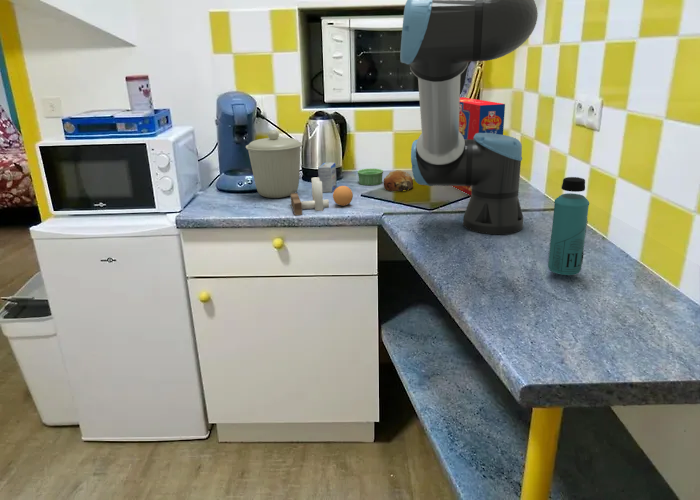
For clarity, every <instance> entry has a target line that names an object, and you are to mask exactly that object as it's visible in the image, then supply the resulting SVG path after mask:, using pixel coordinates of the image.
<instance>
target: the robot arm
mask: <svg viewBox="0 0 700 500" xmlns="http://www.w3.org/2000/svg"><path fill="white" fill-rule="evenodd" d="M538 14H539V13H538V7H537V4H536V1H535V0H406V2H405V4H404V9H403V19H402V28H401V29H402V30H401V39H400V40H401V41H400V55H399V56H400V58H399V60H400V63H402V64H405V65H408V66H409V68H410V69H409V70H410V71H411V72H412V74H413V75H414V76H415V77H416V78H417V80H418V82H417V83H418V98H419V111H420V113H419V115H420V125H421V126H420V127H421V133H420V135H419V137H418V139H414V140H413V142H412V144H411V149H410V150H411V151H410V163H411V171H412V176H413V178H414V179H413V180H414V181H415V183H417V184H418V185H422V186H428V187H433V186H437V187H438V186H440V187H441V186H442V187H443V186H445V187H447V186H449V187H452V186H472V191H471V196H470V197H469V201H468V203H467V206H466V208H465V211H464V214H463V216H462V217H463V219H462V225H463V226H464V228H466V229H468V230H469V231H472V232H474V233H475V232H476V233H480V234H487V235H506V234H508V235H509V234H514V233H517V232H519V231H521V230H523V228H524V215H523V212H522V208H521V207H522V206H521V203H520V200H519V193H520V192H519V191H520V181H521V180H520V178H521V163H522V161H523V156H522V152H523V151H522V148H523V146H522V142H521V141H520V140H519V139H518V138H516V137H513V136H509V135H507V134H505V135H504V134H503V135H501V134H494V133H476V134H475V135H474V137H473V139H464V138H463V136H462V134H461V133H460V132H459V107H460V96H461V94H462V92H463V88H464V85H465V80H466V76H467V73H468V68H469V66H470V65H471V63H472V62H485V61H486V62H488V61H492V60H496V59H499V58H502V57H505V56H507V55H509V54H511V53H512V52H514V51H515V50H517V49H519V47H521V46H522V45H523V44H524V43H525V42H526V41H528V39H529V38H530V37H531V35H532V34H533V32H534V30H535V28H536V25H537V21H538V16H539V15H538Z"/></svg>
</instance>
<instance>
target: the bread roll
mask: <svg viewBox="0 0 700 500" xmlns="http://www.w3.org/2000/svg"><path fill="white" fill-rule="evenodd" d="M413 180H414V179H413V178H412V176H411V174H409V173H408V172H406V171H405V170H400V169H398V170H394V171H393V170H392V171H389V173H388V174H387V175H386V176H385V177H384V178H383V188H384V190H385V189H386V190H385V191H387V190H388V191H387V192H391V191H403V190H408V189H410V190H411V189H412V188H413V187H414V181H413ZM408 191H409V190H408Z"/></svg>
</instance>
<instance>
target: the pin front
mask: <svg viewBox="0 0 700 500" xmlns="http://www.w3.org/2000/svg"><path fill="white" fill-rule="evenodd" d="M300 201H301V203H302V210H313V209H314V210H315V200H314V201H313V200H303V201H302V200H300ZM329 202H330V201H329V199H328V198H327V199H323V209H325V208H326V209H327V208H330V203H329Z"/></svg>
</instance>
